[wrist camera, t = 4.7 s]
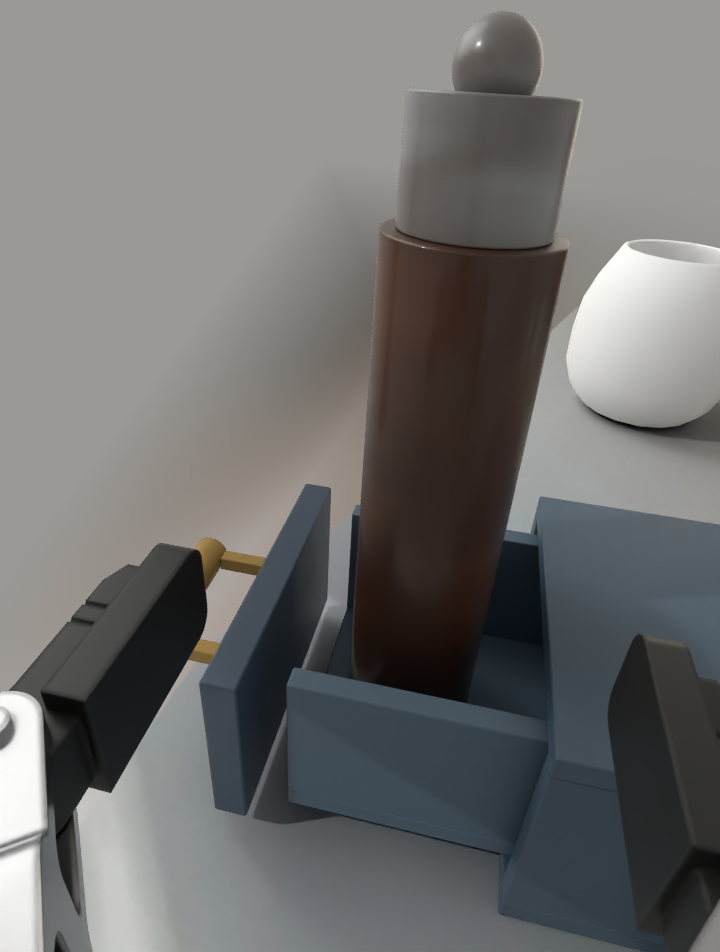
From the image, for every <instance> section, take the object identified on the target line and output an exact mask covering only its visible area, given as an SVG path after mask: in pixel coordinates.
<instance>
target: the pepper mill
mask: <svg viewBox="0 0 720 952" xmlns="http://www.w3.org/2000/svg"><path fill="white" fill-rule="evenodd" d="M543 59H544V54H543V47H542V43H541V40H540V37H539V35H538V33H537V31H536V29H535V28H534V27H533V25H532V24H531V23H530V22H529V21H528V20H527V19H526V18H524V17H523V16H521V15H519V14H516V13H513V12H509V11H498V12H493V13H490V14H487V15H485V16H483V17H481V18H479V19H478V20H477V21H475V22H474V23H473V24H472V25H471V26H470V27H469V28H468V29H467V30H466V31H465V33H464V34H463V36H462V38H461V39H460V41H459V43H458V45H457V47H456V50H455V53H454V57H453V63H452V79H453V85H454V88H455V91H451V90H435V89H418V88H407V89H406V91H405V102H404V103H405V104H404V115H403V128H402V140H401V153H400V167H399V178H398V192H397V204H396V216H395V219H391V220H388V221H386V222H384V223H382V224H381V225H380V227H379V234H378V249H377V265H376V280H375V295H374V311H373V325H372V341H371V355H370V370H369V371H370V372H369V386H368V401H367V415H366V416H367V417H366V431H365V446H364V461H363V476H362V491H361V492H362V493H361V506H360V521H359V536H358V551H357V566H356V582H355V597H354V612H353V627H352V642H351V657H350V672H349V679H353V680H358V681H362V682H367V683H372V684H377V685H381V686H386V687H391V688H396V689H400V690H405V691H410V692H415V693H419V694H424V695H429V696H434V697H438V698H443V699H448V700H453V701H457V702H462V703H467V700H468V695H469V691H470V686H471V682H472V678H473V673H474V669H475V664H476V660H477V655H478V651H479V647H480V642H481V638H482V633H483V629H484V624H485V620H486V616H487V611H488V607H489V602H490V598H491V594H492V589H493V585H494V580H495V576H496V571H497V567H498V563H499V558H500V554H501V549H502V545H503V540H504V536H505V532H506V527H507V523H508V518H509V514H510V509H511V505H512V501H513V496H514V492H515V487H516V483H517V478H518V474H519V470H520V465H521V461H522V456H523V452H524V447H525V443H526V439H527V434H528V430H529V425H530V421H531V416H532V412H533V408H534V403H535V399H536V394H537V390H538V386H539V381H540V377H541V372H542V368H543V363H544V359H545V355H546V350H547V346H548V341H549V337H550V332H551V328H552V324H553V319H554V315H555V310H556V306H557V301H558V297H559V292H560V288H561V283H562V279H563V275H564V270H565V266H566V262H567V257H568V253H569V248H570V244H569V241H568V240H567V239H566V238H565V237H563V236H561V235H559V234H557V233H556V229H557V224H558V219H559V215H560V210H561V205H562V201H563V196H564V191H565V186H566V181H567V177H568V172H569V167H570V163H571V158H572V153H573V149H574V144H575V139H576V134H577V130H578V125H579V120H580V116H581V111H582V106H583V100H582V99H576V98H561V97H545V96H532V95H533V93H534V92H535V90H536V88H537V86H538V84H539V81H540V78H541V75H542V70H543V63H544V60H543Z"/></svg>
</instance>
